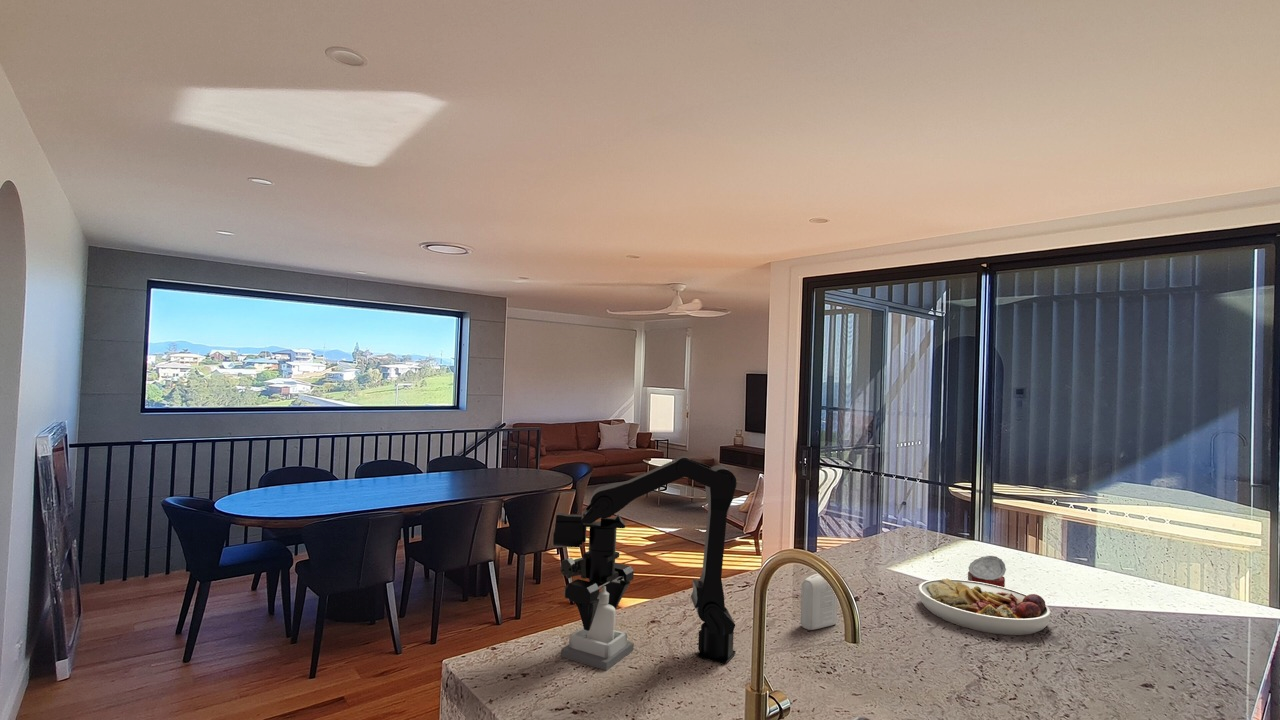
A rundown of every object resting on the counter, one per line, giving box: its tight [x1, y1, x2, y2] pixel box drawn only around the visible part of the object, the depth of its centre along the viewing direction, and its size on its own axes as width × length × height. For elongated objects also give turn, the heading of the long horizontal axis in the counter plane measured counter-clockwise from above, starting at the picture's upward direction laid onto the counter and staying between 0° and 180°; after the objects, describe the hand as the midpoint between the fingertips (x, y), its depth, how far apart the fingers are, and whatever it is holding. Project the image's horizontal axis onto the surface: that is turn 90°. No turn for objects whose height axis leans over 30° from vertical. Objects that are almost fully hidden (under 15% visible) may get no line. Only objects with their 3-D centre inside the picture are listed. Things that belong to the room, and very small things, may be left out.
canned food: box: [967, 555, 1007, 588], centre depth 185 cm, size 11×10×10 cm
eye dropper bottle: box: [587, 586, 617, 644], centre depth 128 cm, size 4×6×12 cm
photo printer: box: [800, 573, 839, 631], centre depth 148 cm, size 10×4×12 cm, turn 123°
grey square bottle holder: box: [560, 626, 635, 671], centre depth 127 cm, size 11×11×4 cm
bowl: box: [918, 578, 1051, 636], centre depth 159 cm, size 30×30×8 cm
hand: (598, 622), depth 127 cm, fingers open, 9 cm apart
